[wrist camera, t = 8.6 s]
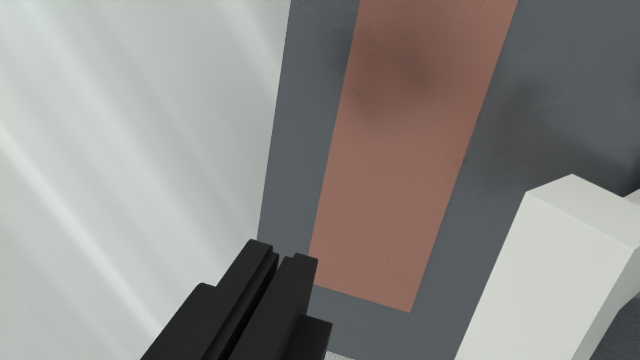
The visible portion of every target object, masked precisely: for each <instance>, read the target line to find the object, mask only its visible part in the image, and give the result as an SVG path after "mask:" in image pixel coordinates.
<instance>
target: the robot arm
mask: <svg viewBox="0 0 640 360" xmlns="http://www.w3.org/2000/svg"><path fill="white" fill-rule="evenodd" d="M278 263H279V254H278V253H275V252H273V246H272V245H270V244H266V243H263V242H260V241H256V240H253V239H250V240H249V241H248V242H247V243H246V245H245V246H244V248H243V249H242V250H241V252H240V253H239V255H238V256H237V258H236V259H235V260H234V262H233V263H232V265H231V266H230V267H229V269H228V270H227V272H226V273H225V275H224V276H223V277H222V279H221V280H220V282H219V283H218V284H217V286H216V287H215V286H212V285H208V284H205V283H200V284H198V285H197V286H196V287H195V289H194V290H193V291H192V293H191V294H190V295H189V296H188V298H187V299H186V300H185V302H184V303H183V304H182V306H181V307H180V308H179V309H178V311H177V312H176V313H175V315H174V316H173V317H172V319H171V320H170V321H169V323H168V324H167V325H166V326H165V328H164V329H163V330H162V332H161V333H160V334H159V336H158V337H157V338H156V340H155V341H154V342H153V343H152V345H151V346H150V347H149V349H148V350H147V351H146V353H145V354H144V355H143V356H142V358H141V359H140V360H324V358H325V354H326V350H327V346H328V342H329V339H330V335H331V331H332V326H333V323H330V322H327V321H324V320H321V319H317V318H314V317H311V316H308V315H307V310H308V306H309V301H310V296H311V292H312V287H313V283H314V278H315V274H316V269H317V265H318V259H317V258H314V257H310V256H307V255H304V254H300V253H297V252H296V253H295V254H294V256H293V258H292V257H288V256H285V257H284V259H283V261H282V262H281V264H280V266H279V268H278ZM277 268H278V270H277Z"/></svg>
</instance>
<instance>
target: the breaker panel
mask: <svg viewBox="0 0 640 360" xmlns="http://www.w3.org/2000/svg"><path fill="white" fill-rule="evenodd" d="M570 174H574V175H576V176H578V177H580V178H582V179H584V180H586V181H588V182H591V183H593V184H595V185H597V186H599V187H601V188H603V189H605V190H607V191H610V192H612V193H614V194H616V195H618V196H620V197H622V198H624V197H625V196H627V195H629V194H631V193H633V192H635V191H637V190H638V189H640V0H291V4H290V11H289V18H288V25H287V32H286V39H285V46H284V53H283V60H282V67H281V74H280V81H279V88H278V95H277V102H276V109H275V116H274V123H273V130H272V137H271V144H270V151H269V158H268V165H267V172H266V179H265V186H264V193H263V200H262V207H261V214H260V221H259V228H258V235H257V241H260V242H263V243H266V244H270V245H272V246H273V252H275V253H278V254H279V263H278V268H279V266H280V264H281V262H282V261H283V259H284V257H285V256H288V257H292V258H293V256H294V254H295V253H296V252H297V253H300V254H304V255H307V256H310V257H314V258H317V259H318V265H317V269H316V274H315V278H314V283H313V287H312V292H311V296H310V301H309V306H308V310H307V315H308V316H311V317H314V318H317V319H321V320H324V321H327V322H330V323H333V326H332V331H331V335H330V339H329V342H328V346H327V351H330V352H333V353H336V354H339V355H342V356H346V357H349V358H352V359H355V360H454V359H455V357H456V355H457V352H458V350H459V347H460V345H461V343H462V340H463V338H464V336H465V333H466V331H467V329H468V326H469V324H470V322H471V319H472V317H473V315H474V312H475V310H476V308H477V305H478V303H479V301H480V298H481V296H482V294H483V291H484V289H485V287H486V284H487V282H488V279H489V277H490V275H491V272H492V270H493V268H494V265H495V263H496V261H497V258H498V256H499V254H500V251H501V249H502V247H503V244H504V242H505V240H506V237H507V235H508V233H509V230H510V228H511V226H512V223H513V221H514V218H515V216H516V214H517V211H518V209H519V207H520V204H521V202H522V200H523V197H524V195H525V193H526V192H527V191H529V190H532V189H535V188H537V187H540V186H542V185H545V184H547V183H550V182H552V181H555V180H558V179H560V178H563V177H565V176H568V175H570ZM278 268H277V270H278ZM589 360H640V298H632V299H631V300H630V301H629V302H627V303H626V304H625V305H624V306H623V307H622V308H621V309H620V310H619V311H618V313H617V314H616V316H615V317H614V319H613V321H612V322H611V324H610V326H609V327H608V329H607V331H606V332H605V334H604V336H603V337H602V339H601V341H600V342H599V344H598V346H597V347H596V349H595V351H594V352H593V354H592V356H591V357H590V359H589Z"/></svg>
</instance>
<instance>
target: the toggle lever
mask: <svg viewBox="0 0 640 360" xmlns="http://www.w3.org/2000/svg"><path fill="white" fill-rule="evenodd" d="M632 298H640V189H638V190H637V191H635V192H633V193H631V194H629V195H627V196H625V197H624V198H622V197H620V196H618V195H616V194H614V193H612V192H610V191H607V190H605V189H603V188H601V187H599V186H597V185H595V184H593V183H591V182H588V181H586V180H584V179H582V178H580V177H578V176H576V175H574V174H570V175H568V176H565V177H563V178H560V179H558V180H555V181H552V182H550V183H547V184H545V185H542V186H540V187H537V188H535V189H532V190H529V191H527V192H526V193H525V195H524V197H523V200H522V202H521V204H520V207H519V209H518V211H517V214H516V216H515V218H514V221H513V223H512V226H511V228H510V230H509V233H508V235H507V237H506V240H505V242H504V244H503V247H502V249H501V251H500V254H499V256H498V258H497V261H496V263H495V265H494V268H493V270H492V272H491V275H490V277H489V279H488V282H487V284H486V287H485V289H484V291H483V294H482V296H481V298H480V301H479V303H478V305H477V308H476V310H475V312H474V315H473V317H472V319H471V322H470V324H469V326H468V329H467V331H466V333H465V336H464V338H463V340H462V343H461V345H460V347H459V350H458V352H457V355H456V357H455V359H454V360H589V359H590V357H591V356H592V354H593V352H594V351H595V349H596V347H597V346H598V344H599V342H600V341H601V339H602V337H603V336H604V334H605V332H606V331H607V329H608V327H609V326H610V324H611V322H612V321H613V319H614V317H615V316H616V314H617V313H618V311H619V310H620V309H621V308H622V307H623V306H624V305H625V304H626V303H627V302H629V301H630V300H631V299H632Z"/></svg>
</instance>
